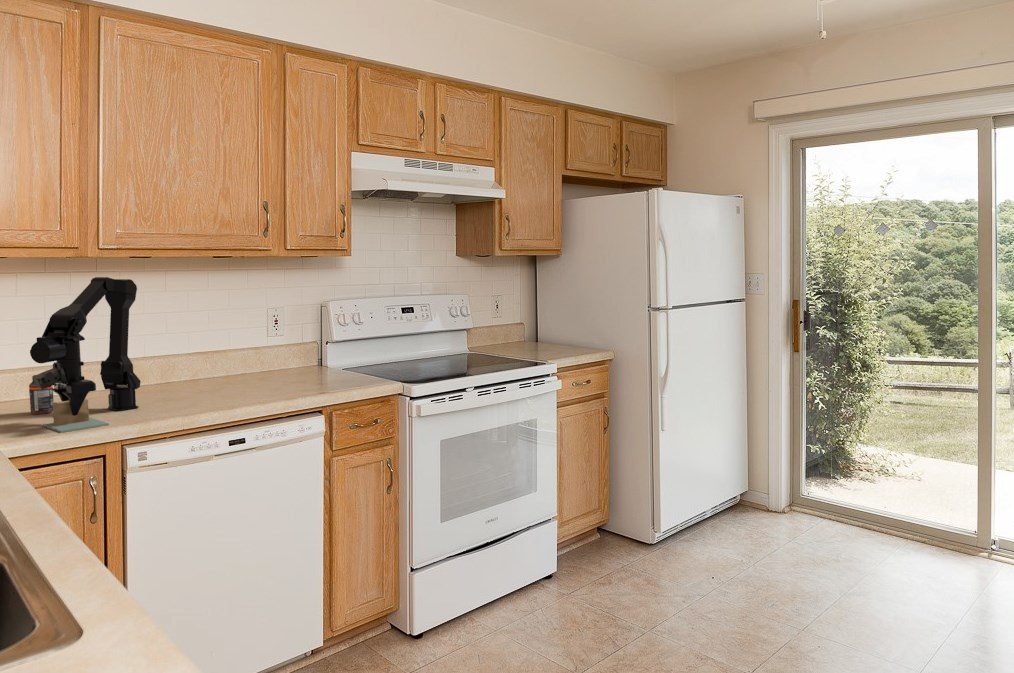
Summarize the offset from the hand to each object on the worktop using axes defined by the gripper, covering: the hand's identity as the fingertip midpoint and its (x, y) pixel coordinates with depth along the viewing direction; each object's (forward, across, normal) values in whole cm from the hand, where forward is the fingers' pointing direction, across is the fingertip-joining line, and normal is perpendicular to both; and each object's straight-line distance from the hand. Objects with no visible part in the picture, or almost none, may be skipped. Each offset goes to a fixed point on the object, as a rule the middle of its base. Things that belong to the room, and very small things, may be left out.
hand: (71, 414), depth 202 cm
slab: (+2, 0, 0) cm, 2 cm away
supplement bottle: (+3, -24, +1) cm, 24 cm away
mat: (+3, +2, 0) cm, 4 cm away
